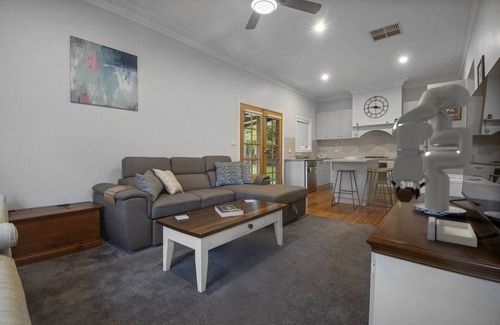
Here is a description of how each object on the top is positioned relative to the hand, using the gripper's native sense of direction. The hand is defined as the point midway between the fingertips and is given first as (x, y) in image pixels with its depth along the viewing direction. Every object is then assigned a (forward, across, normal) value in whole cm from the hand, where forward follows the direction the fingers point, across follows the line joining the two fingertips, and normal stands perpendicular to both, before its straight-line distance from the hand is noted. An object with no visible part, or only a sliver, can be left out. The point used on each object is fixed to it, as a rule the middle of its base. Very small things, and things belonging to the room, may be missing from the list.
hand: (407, 197), depth 92 cm
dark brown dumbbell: (+1, 0, 0) cm, 1 cm away
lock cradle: (+12, -14, +1) cm, 19 cm away
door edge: (+12, -8, +1) cm, 15 cm away
